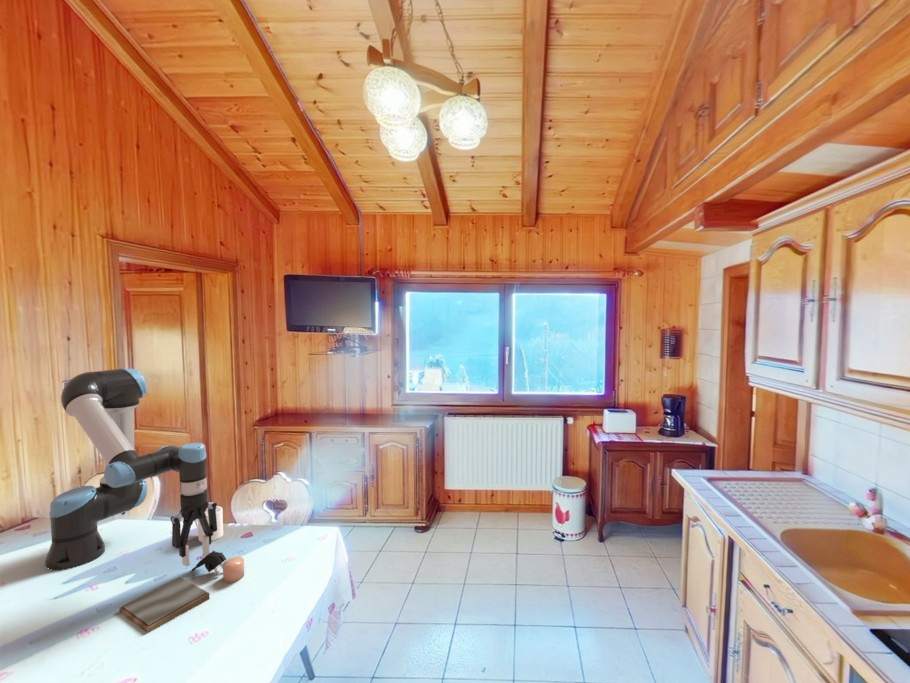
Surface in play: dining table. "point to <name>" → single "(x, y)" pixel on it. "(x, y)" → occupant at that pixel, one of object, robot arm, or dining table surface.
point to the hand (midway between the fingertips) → (196, 559)
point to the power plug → (212, 561)
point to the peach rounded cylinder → (233, 570)
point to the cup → (219, 520)
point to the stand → (164, 604)
